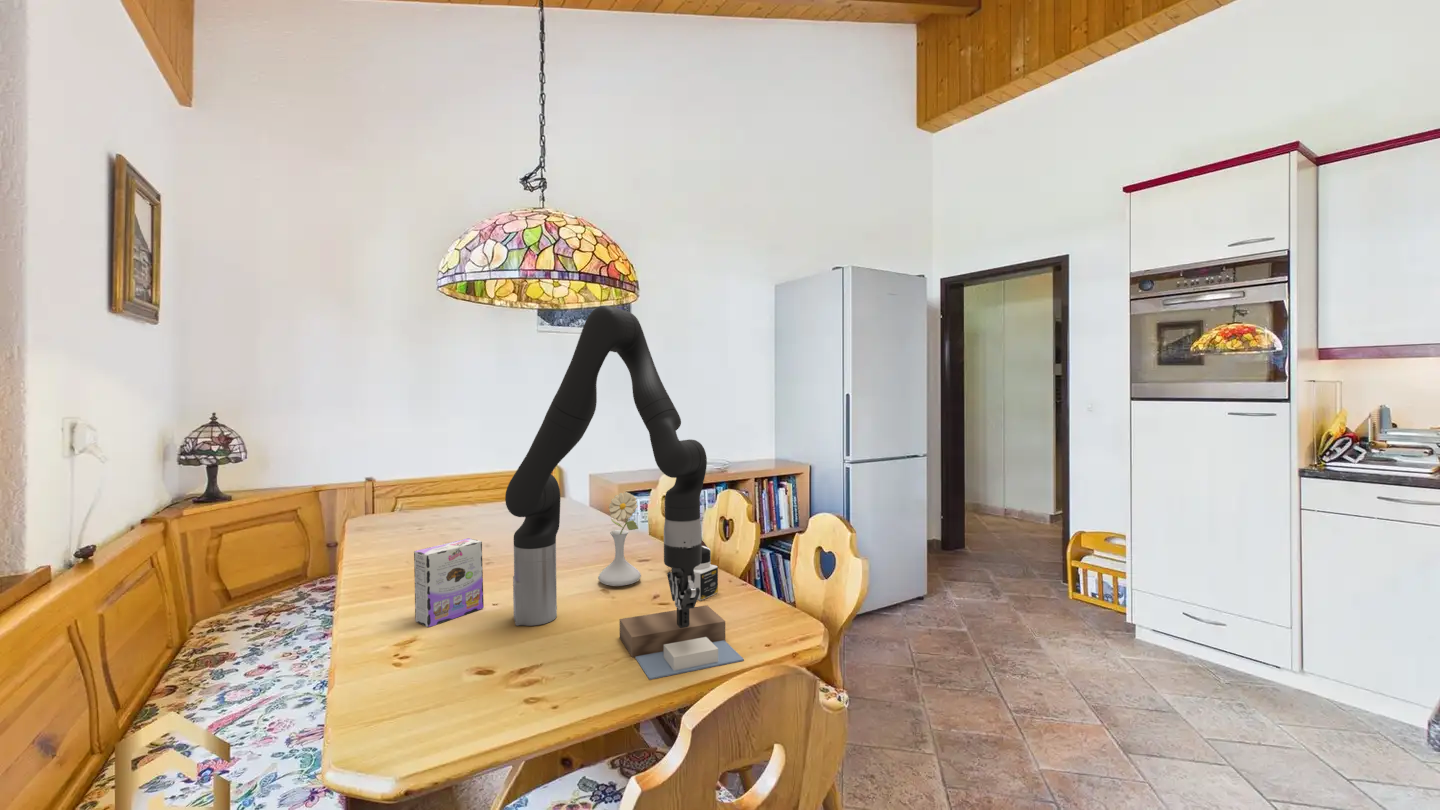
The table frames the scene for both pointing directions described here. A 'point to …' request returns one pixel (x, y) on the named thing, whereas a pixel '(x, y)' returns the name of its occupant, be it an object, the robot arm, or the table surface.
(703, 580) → the medicine bottle
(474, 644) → the table surface
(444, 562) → the candy box
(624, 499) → the flower in vase
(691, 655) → the white eraser
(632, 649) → the wooden block
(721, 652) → the mat
